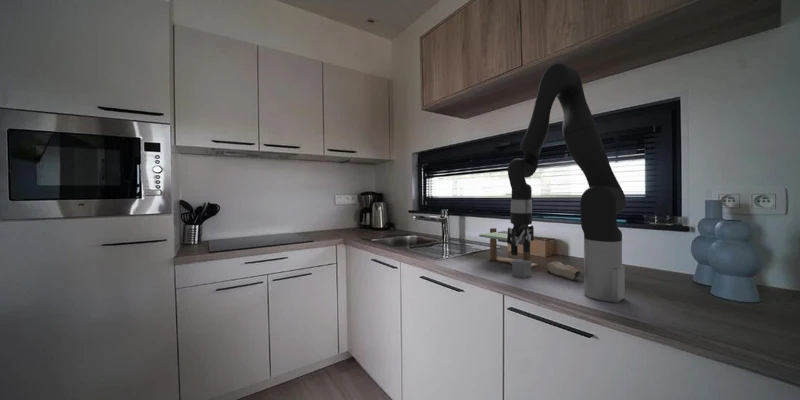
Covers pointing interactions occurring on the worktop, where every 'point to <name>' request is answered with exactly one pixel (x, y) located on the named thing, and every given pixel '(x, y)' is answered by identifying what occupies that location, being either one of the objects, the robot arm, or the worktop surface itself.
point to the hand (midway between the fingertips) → (520, 253)
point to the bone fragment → (563, 270)
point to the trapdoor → (499, 236)
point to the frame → (501, 259)
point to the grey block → (521, 268)
